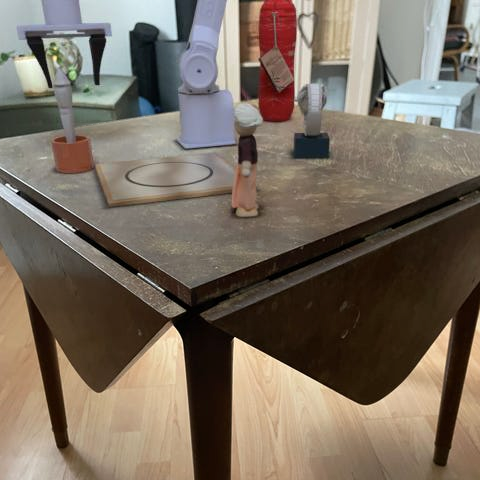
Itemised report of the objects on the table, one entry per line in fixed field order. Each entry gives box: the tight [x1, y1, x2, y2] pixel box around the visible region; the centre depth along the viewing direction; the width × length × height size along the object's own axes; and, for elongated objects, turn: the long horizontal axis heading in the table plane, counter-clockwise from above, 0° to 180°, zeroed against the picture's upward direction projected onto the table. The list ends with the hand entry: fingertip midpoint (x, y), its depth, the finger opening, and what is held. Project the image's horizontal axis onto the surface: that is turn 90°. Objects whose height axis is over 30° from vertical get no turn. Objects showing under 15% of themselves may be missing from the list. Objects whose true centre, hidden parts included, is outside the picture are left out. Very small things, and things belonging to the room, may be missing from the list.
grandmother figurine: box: [230, 102, 264, 218], centre depth 64 cm, size 8×4×13 cm, turn 5°
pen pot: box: [50, 134, 95, 174], centre depth 85 cm, size 6×6×4 cm
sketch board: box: [94, 152, 236, 208], centre depth 80 cm, size 20×20×1 cm
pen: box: [52, 66, 77, 143], centre depth 82 cm, size 2×3×14 cm
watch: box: [293, 83, 331, 159], centre depth 88 cm, size 6×8×11 cm
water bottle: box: [257, 0, 298, 123], centre depth 109 cm, size 12×8×25 cm, turn 168°
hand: (74, 86), depth 92 cm, fingers open, 7 cm apart
